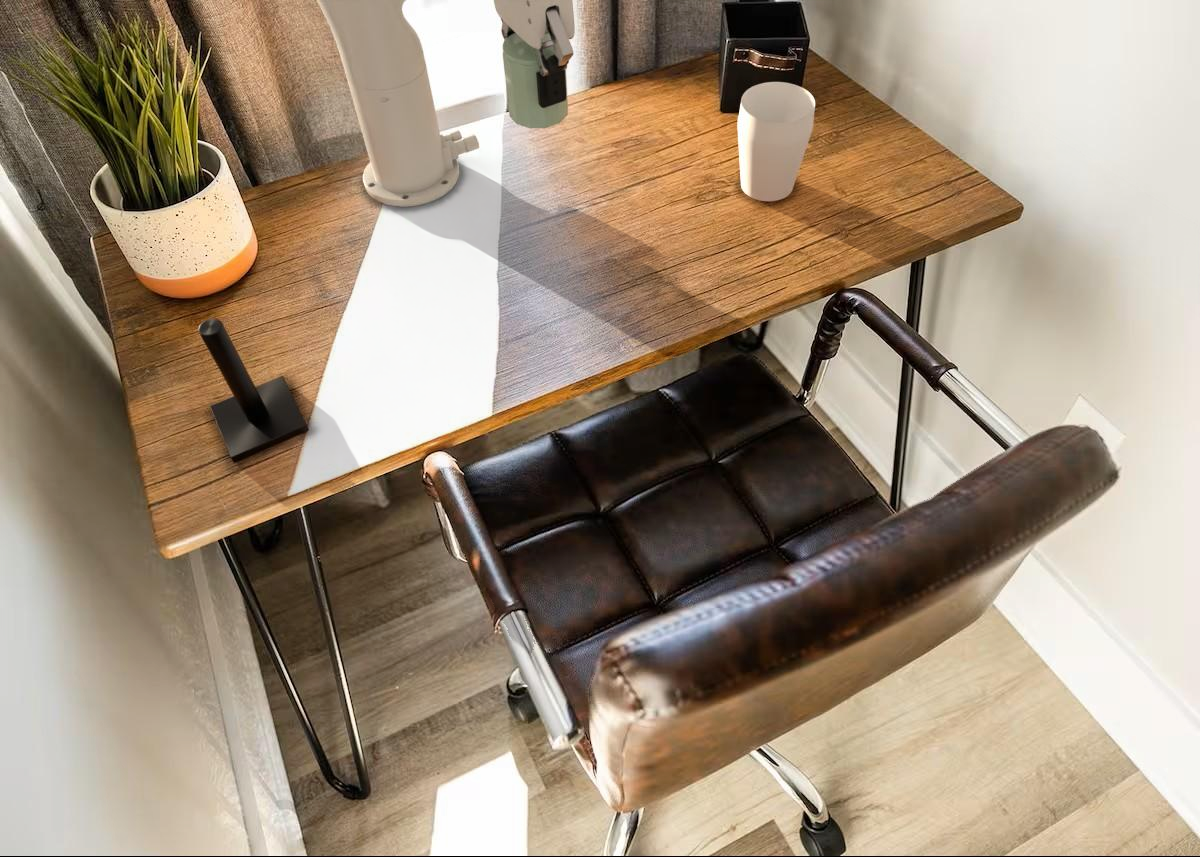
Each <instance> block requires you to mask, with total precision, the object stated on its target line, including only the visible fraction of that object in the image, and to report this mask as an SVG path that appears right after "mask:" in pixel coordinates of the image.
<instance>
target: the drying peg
mask: <svg viewBox="0 0 1200 857" xmlns="http://www.w3.org/2000/svg"><path fill="white" fill-rule="evenodd" d="M197 331H198V333H199V335H200V337H201V339H202V341H203V343H204V344H205V346H206V348H207V350H208V351H209V353H210V355H211V357H212V358H213V361H214V363H215V364H216V366H217V368H218V370H219V371H220V373H221V376H222V377H223V379H224V380H225V382H226V384H227V386H228V387H229V389H230V391H231V393H232V395H233V396H231V397H228V398H226V399H223V400H221V401H219V402H216V403H214V404H211V405H210V406H209V408H210V411H211V414H212V416H213V419H214V420H215V423H216V426H217V428H218V431H219V434H220V436H221V438H222V440H223V443H224V446H225V448H226V450H227V452H228V455H229V457H230V459H231V461H232V462H233V464H236V463H239V462H240V461H243V460H246V459H247V458H250V457H253V456H254V455H256V454H259V453H261V452H264V451H266V450H268V449H270V448H273V447H275V446H277V445H280V444H282V443H284V442H286V441H288V440H291V439H293V438H296V437H297V436H300V435H302V434H304V433H307V432H309V431H310V428H309V426H308V424H307V422H306V420H305V418H304V416H303V414H302V412H301V410H300V408H299V405H298V403H297V402H296V400H295V398H294V396H293V393H292V391H291V389H290V388H289V385H288V383H287V381H286V379H285V377H284V376H283V375H281V376H279V377H276V378H274V379H271V380H269V381H267V382H266V381H265V382H264V383H262V384H260V385H257V386H255V383H254V381H253V379H252V378H251V375H250V374H249V372H248V370H247V368H246V366H245V364H244V363H243V360H242V359H241V356H240V354H239V352H238V351H237V349H236V346H235V345H234V343H233V341H232V339H231V337H230V335H229V333H228V331H227V329H226V328H225V325H224V324H223V322H222V320H220V319H218V318H208V319H206V320H204V321H203V322H201V323H200V324H199V325H198V329H197Z"/></svg>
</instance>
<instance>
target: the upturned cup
mask: <svg viewBox="0 0 1200 857" xmlns="http://www.w3.org/2000/svg"><path fill="white" fill-rule="evenodd" d="M548 39H551V37H550V34H549V33H548V34H545V35H544V38H542V39H541V42H542V41H545V40H548ZM543 51H544V55H545V58H546V61H547V59H548V58H549V57H550V56H552V55H554V52H555V51H554V47H553V46H550V47H547V48H544V49H543ZM502 60H503V61H502V62H503V69H504V70H503V71H504V79H505V87H506V98H507V106H508V116H509V118H510V119H511V120H512V121H513V122H514V123H515V124H516V125H519V126H521V127H524V128H527V129H547V128H550V127H552V126H556V125H558V124H561V123H562V121H564V119H566V118H567V117H568V115H569V99H568V98H569V97H567V98H566V100H565V101H563V102H560V103H557V104H554V105H551V106H549V107H546V108H542V107H541V106H540V105H539V102H538V90H537V78H536V73H537V72H539V67H538V63H537V59H536V55H535V51H534V48H533V47H531V46H530V45H529V44H527V43H526V42H525V41H524V40H523V39H522V38H521V37H520V36H519V35H517V34H516V33H514V34H512V35H510V36H509V37H507V38H506V40H505V39H504V41H503V43H502ZM565 76H566V77H567V69H565ZM566 94H567V95H568V80H567V78H566Z"/></svg>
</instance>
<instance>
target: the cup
mask: <svg viewBox="0 0 1200 857" xmlns="http://www.w3.org/2000/svg"><path fill="white" fill-rule="evenodd" d="M815 110H816V100H815V97H814V96H813V95H812V93H811V92H809V91H808V90H807V89H805V88H804V87H802V86H799V85H797V84H793V83H790V82H785V81H767V82H763V83H759V84H755V85H753V86H751V87H750V88H748V89H746V90H745V91H744V93H743V94H742V96H741V99H740V104H739V112H738V116H737V127H736V128H737V142H738V143H737V144H738V159H739V174H740V175H739V176H740V177H739V178H740V187H741V188H740V189H741V190H742V191H743V192H744V194H745V195H746V196H748V197H749V198H751V199H754V200H756V201H761V202H776V201H780V200H783V199H785V198H787V197H788V196H789V195H790V194H791V193H792V192H793V189H794V186H795V184H796V181H797V177H798V175H799V171H800V168H801V166H802V163H803V159H804V157H805V154H806V150H807V148H808V145H809V142H810V138H811V136H812V132H813V129H814V119H815Z"/></svg>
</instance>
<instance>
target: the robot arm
mask: <svg viewBox="0 0 1200 857" xmlns="http://www.w3.org/2000/svg"><path fill="white" fill-rule="evenodd" d="M406 1H407V0H316V2H317V3H318V4H317V5H319V6H318V7H319V8H320V9H321V11H322V14H323V15H324V18H325V19H326V22H327V24H328V26H329V29H330V31H331V33H332V36H333V38H334V41H335V44H336V47H337V51H338V53H339V56H340V60H341V63H342V67H343V71H344V74H345V78H346V80H347V83H348V87H349V91H350V94H351V99H352V102H353V105H354V109H355V112H356V116H357V119H358V123H359V127H360V130H361V135H362V137H363V140H364V145H365V148H366V152H367V155H368V159H369V162H368V164H367V165H366V166H365V168H364V170H363V174H362V182H363V184H364V188H365V190H366V192H367V194H368V195H369V197H371V198H372V199H373V200H375V201H377V202H379V203H381V204H383V205H384V204H385V205H387V206H393V207H403V208H406V207H414V206H421V205H425V204H428V203H432V202H433V201H436V200H438V199H440V198H442V197H443V196H445V195H446V194H448V193H449V192H450V191H451V190H452V189H453V188H454V187H455V185H456V184H457V183H458V180H459V178H460V166H459V162H458V160H457V159H459V155H464V154H467V153H470V152H473V151H475V150H478V149H480V143H479V140H478V138H477V136H476V135H475V134H474V133H472V134H471V135H467V136H464V137H463V136H462V133H461V131H460V130H459V129H457V130H454V131H451V132H449V133H448V134H445V135H443V134H441V132H440V127H439V121H438V118H437V112H436V107H435V103H434V98H433V91H432V87H431V82H430V78H429V73H428V68H427V63H426V58H425V54H424V50H423V45H422V42H421V39H420V37H419V35H418V33H417V32H416V30H415V29H414V27H413V26H412V25H411V24H410V23H409V21H408V20H407V19H406V17H405V14H404V12H403V6H404V3H405V2H406ZM573 2H574V1H573V0H493V3H494V8H495V11H496V13H497V15H498V17H499V18H500V21H501V29H500V30H501V31H500V32H501V35H502V38H503V39H504V41H505V40H506V38H507V37H509V36H510V35H512V34H514V33H516V34H517V35H519V36H520V37H521V38H522V39H523V40H524V41H525V42H526V43H527V44H529V45H530V46H531V47H533V48H534V51H535V55H536V59H537V63H538V67H539V72H537V73H536V78H537V90H538V102H539V105H540V106H541V107H542V108H546V107H549V106H551V105H554V104H557V103H560V102H563V101H565V100H566V98H568V93H567V94H566V79H567V75H566V76H565V69H566V70H567V69H568V64H569V63H570V60H571V58H572V57H573V56H574V48H573V46H572V44H571V41H570V40H572V39H573V38H574V37H575V34H576V33H575V30H576V29H575V28H576V26H575V14H574V3H573ZM548 33H549V34H550V37H551V39H548V40H545V41H542V42H541V39H542V38H544V35H545V34H548ZM550 46H553V47H554V51H555V52H554V55H552V56H550V57H549V58H548V59H547V61H546V58H545V55H544V51H543V49H544V48H547V47H550Z"/></svg>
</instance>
